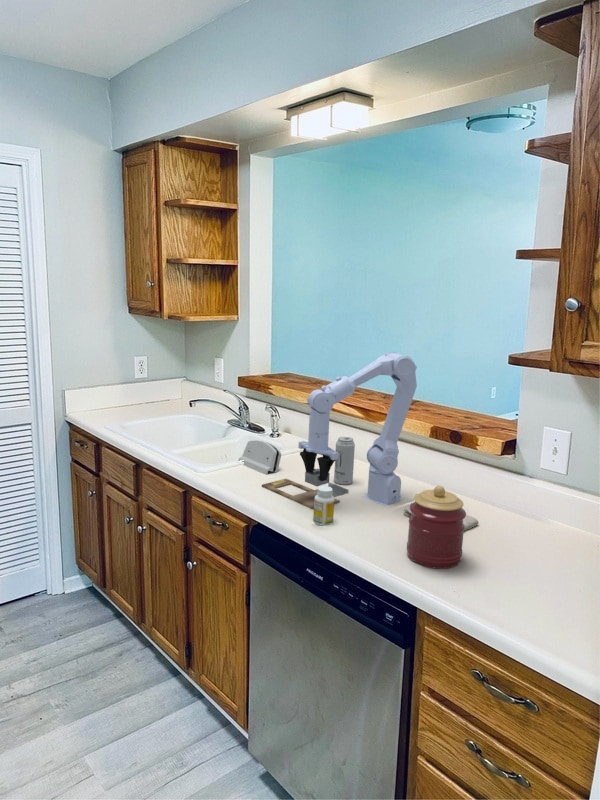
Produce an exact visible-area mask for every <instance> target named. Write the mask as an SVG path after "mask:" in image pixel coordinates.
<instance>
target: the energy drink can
mask: <svg viewBox="0 0 600 800" xmlns="http://www.w3.org/2000/svg"><path fill="white" fill-rule="evenodd" d="M355 447H356V444H355V442H354V439H353V437H349V436H340V437H338V438H337V441H336V442H335V451H336V452H338V459H336V460H335V461H334V472H333V473H334V474H333V475H334V476H333V482H334V483H336V485H343V486H347V485H351V484H352V483H353V481H354V480H353V479H354V467H355V466H354V465H355V464H354V463H355V449H356V448H355Z"/></svg>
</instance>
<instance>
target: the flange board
mask: <svg viewBox="0 0 600 800" xmlns="http://www.w3.org/2000/svg"><path fill="white" fill-rule="evenodd" d="M288 486H293V487H295V488H298V489H300V490H302V491H305V492H302V493H301V492H300V493H298V494H295V495H292V494H290V493H287V492H285V491H284V490H281V489H280V488H284V487H288ZM261 487H262V488H264V489H266V490H268V491H270V492H273V493H275V494H277V495H279V496H281V497H283V498H286V499H289V500H290V501H293V502H294V503H298V504H299V505H302V506H304V507H306V508H308V509H311V510H313V511H314V498H315V496H316V495H317V494H318V493H317V491H315V490H316V489H312V488H311V487H308V486H306V485H303V484H300V483H298V482H296V481H293V480H291V479H289V478H282V479H279V480H275V481H271V482H267V483H266V482H265V483H263V484H261ZM339 503H341V499H337V498H336V497H334V505H337V504H339Z"/></svg>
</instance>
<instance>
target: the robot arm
mask: <svg viewBox="0 0 600 800" xmlns="http://www.w3.org/2000/svg"><path fill="white" fill-rule="evenodd" d="M417 367H418V366H417V365H416V363H415V361H413V359H412V357H410V356H408V355H404V354H401V353H397V352H396V351H395V352H394V351H389V352H387V353H385V354H384V355H381V356H379V357H377V359H375V360H374V361H372V362H371V363H369V364H368V365H366V366H364V367H362V368H361V369H360V370H358V371H357V372H355V373H353V374H352V375H351V376H346V375H345V376H344V375H343V376H336V377H335V378H334V379H335V380H333V381H332V382H330V383H329V384H327V385H322V386H321V389H314V390H313V391H311V392H310V394H309V395H308V398H307V399H306V402H307V405H308V406H309V418H308V419H309V420H308V423H309V424H308V437H307V438H308V440H307V441H304V440H301V441H298V447H297V448H298V449H301V450H302V449H303V450H302V451H300V452H299V456H300V457H301V459H302V461H303V464H304V468H305V472H307V471H310V470H313V469H315V465H316V461H317V463H318V469H319V470H320V481H325V480H327V477H328V473H330V470H331V468H332V466H333V464H335V460H336V459H338V452H336V450H334V449H332V448H331V447H329V433H330V412H331V410H332V409H333V407H334V405H336V404H337V403H339V402H341V401H342V400H345V399H346V398H347V397H349V396H351V395H353V394H354V393H355V389H356V388H357V387H358V386H361V385H363V384H365V383H366V382H368V381H370V380H373V379H374V378H376V377H379V376H388V377H391V380H393V382H394V384H395V386H396V389H395V391H394V395H393V396H392V397H393V398H392V400H391V402H390V406H389V409H388V411H387V415H386V418H385V421H384V423H383V426H382V428H381V431H380V435H379V436H378V437H377V438H376V439H375V440H373V444H372V445H371V447H369V448H368V450H367V452H366V460H367V462H368V463H369V467H368V479H367V481H368V483H367V485H368V486H367V493H366V494H363V495H361V497H362V498H365V499H367V500H370V501H372V502H375V503H377V504H380V505H383V506H388V505H391V504H394V503H397V502H400V501H402V499H401V490H402V489H401V487H402V480H401V477H400V476H398V475H397V474H396V473H395V470H396V469H397V468H398V464H399V461H398V460H399V459H398V458H399V457H398V455H399V453H400V452H399V450H400V449H399V446H398V441H399V438H400V436H401V433H402V430H403V427H404V424H405V421H406V418H407V416H408V413H409V411H410V406H411V404H412V401H413V398H414V395H415V392H416V389H417V386H418V385H417V383H418V382H417V376H416V370H417ZM318 455H320V457H317V456H318Z"/></svg>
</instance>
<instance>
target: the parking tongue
mask: <svg viewBox="0 0 600 800" xmlns="http://www.w3.org/2000/svg"><path fill="white" fill-rule="evenodd" d="M327 484H328V485H327V486H328V487H331V488H332V489H333V493H332V496H333V497H334V498H336V497H340V496H343V495H346V494H349V491H350V490H349V489H348V488H345V487H343V486H340V485H339V484H334V483H333V482H329V483H327ZM314 490H315V491H317V490H318V488H317V489H314Z"/></svg>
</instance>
